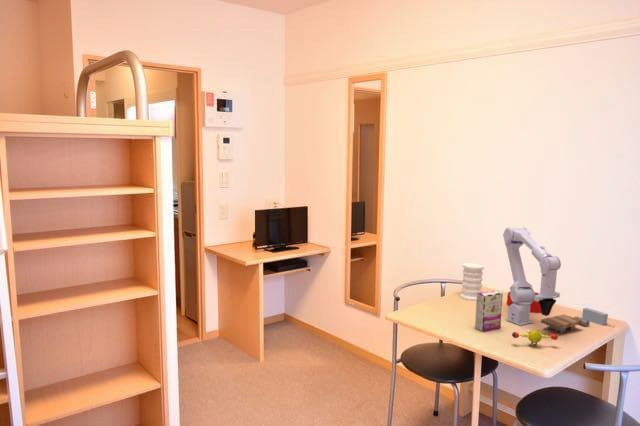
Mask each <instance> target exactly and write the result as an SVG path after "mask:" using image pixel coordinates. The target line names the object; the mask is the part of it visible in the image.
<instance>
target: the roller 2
mask: <svg viewBox="0 0 640 426" xmlns="http://www.w3.org/2000/svg"><path fill="white" fill-rule="evenodd" d="M568 329H569V331H571V330H573V331H574V330H575V329H576V325H575V326H571V327H567V328H566V329H565V330H568Z"/></svg>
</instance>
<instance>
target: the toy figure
mask: <svg viewBox="0 0 640 426" xmlns="http://www.w3.org/2000/svg"><path fill="white" fill-rule="evenodd" d="M511 336H512V337H513V338H514V339H518V338H519V337H521V338H528V340H529V341H530V342H531V343H530V345H529V346H531V347H533V345H534V346H535V347H537V346H538V343H540V342H541V340H542V339H545V338H546V339H548V338H551V340H554V341H555V340H558V337H559V336H558V335H557V334H556V333H551V334H550V335H547V334H542V333H541V332H540V331H539V330H538V329H536V328H535V329H534V328H533V329H531V330H529V329H527V330H526V333H525V334H524V333H523V334H519V333H518V332H517V331H514V332H512V334H511Z"/></svg>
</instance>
